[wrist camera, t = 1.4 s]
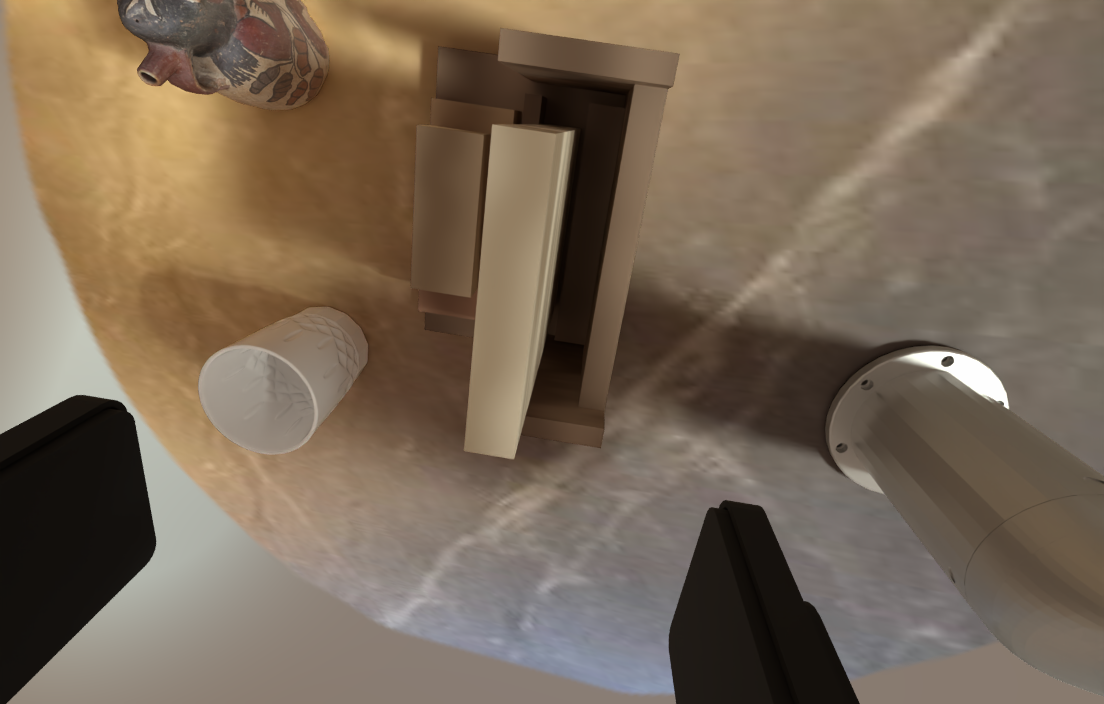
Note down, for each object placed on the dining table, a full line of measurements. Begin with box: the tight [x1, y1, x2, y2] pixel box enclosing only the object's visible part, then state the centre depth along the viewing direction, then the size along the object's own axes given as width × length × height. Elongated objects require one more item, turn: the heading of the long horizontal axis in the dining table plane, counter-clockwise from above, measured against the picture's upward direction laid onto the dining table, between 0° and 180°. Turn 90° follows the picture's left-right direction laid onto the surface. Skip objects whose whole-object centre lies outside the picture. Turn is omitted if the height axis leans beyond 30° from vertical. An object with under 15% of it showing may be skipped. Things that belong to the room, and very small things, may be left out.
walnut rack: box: [425, 28, 680, 448], centre depth 33 cm, size 14×19×14 cm
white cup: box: [198, 307, 368, 454], centre depth 40 cm, size 8×8×10 cm
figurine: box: [117, 0, 329, 110], centre depth 31 cm, size 7×7×12 cm
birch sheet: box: [464, 124, 581, 459], centre depth 29 cm, size 2×12×20 cm, turn 173°
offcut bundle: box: [411, 98, 521, 320], centre depth 35 cm, size 5×13×8 cm, turn 172°
